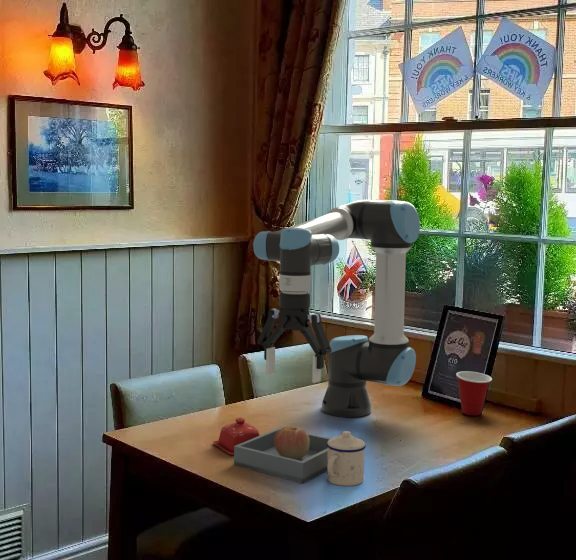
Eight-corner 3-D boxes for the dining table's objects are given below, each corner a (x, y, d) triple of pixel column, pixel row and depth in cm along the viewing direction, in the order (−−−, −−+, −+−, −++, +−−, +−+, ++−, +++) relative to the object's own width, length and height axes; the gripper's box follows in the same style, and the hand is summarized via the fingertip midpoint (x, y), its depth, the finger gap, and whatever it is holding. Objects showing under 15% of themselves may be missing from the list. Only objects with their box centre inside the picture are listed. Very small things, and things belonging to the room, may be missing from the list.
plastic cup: (479, 420, 244) (481, 381, 242) (447, 413, 251) (449, 374, 250) (496, 413, 252) (498, 375, 251) (465, 406, 259) (467, 369, 258)
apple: (283, 466, 197) (283, 434, 196) (268, 455, 205) (269, 424, 204) (315, 462, 201) (316, 430, 200) (299, 451, 209) (300, 420, 208)
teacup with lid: (338, 470, 199) (339, 423, 197) (371, 478, 193) (373, 430, 192) (311, 484, 189) (312, 435, 187) (345, 493, 184) (347, 443, 182)
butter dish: (270, 452, 212) (270, 420, 211) (230, 459, 205) (231, 426, 204) (248, 440, 221) (248, 409, 220) (210, 446, 215) (210, 415, 214)
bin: (233, 465, 200) (234, 446, 200) (280, 445, 217) (280, 427, 216) (302, 484, 189) (302, 463, 188) (345, 460, 205) (346, 441, 205)
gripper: (244, 288, 202) (243, 372, 204) (330, 298, 188) (328, 388, 191) (262, 285, 208) (260, 367, 211) (347, 295, 194) (344, 382, 197)
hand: (293, 377), depth 201 cm, fingers open, 13 cm apart
